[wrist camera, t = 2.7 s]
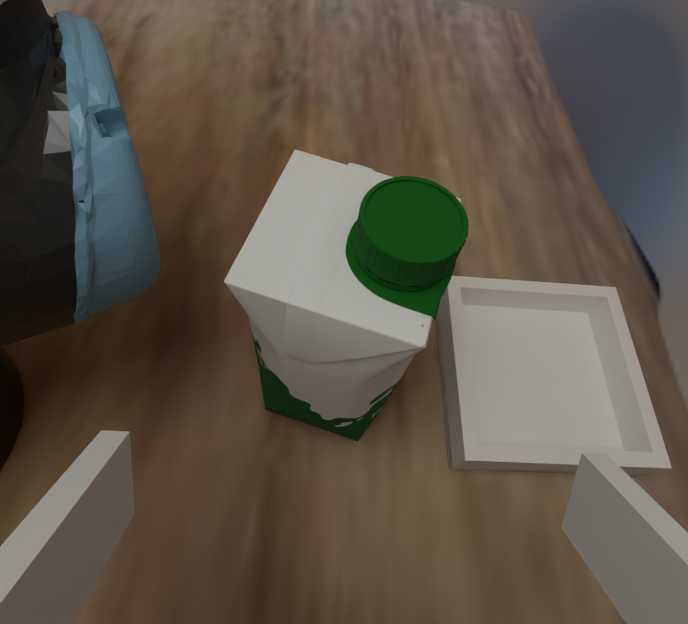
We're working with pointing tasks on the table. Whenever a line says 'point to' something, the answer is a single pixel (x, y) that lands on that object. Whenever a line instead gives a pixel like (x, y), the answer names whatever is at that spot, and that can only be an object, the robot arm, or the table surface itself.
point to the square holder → (542, 378)
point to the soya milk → (344, 286)
